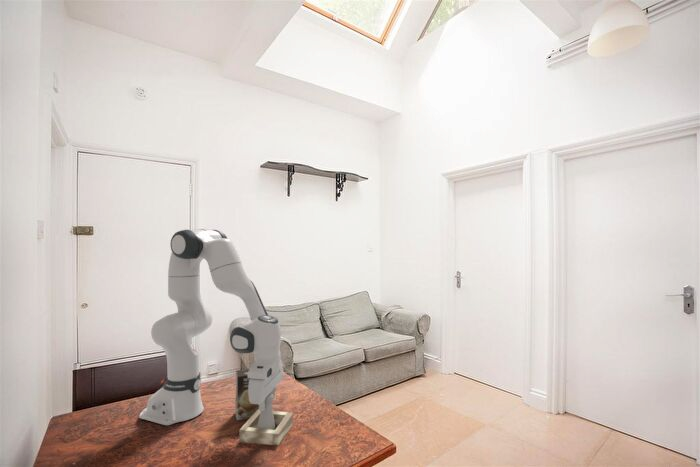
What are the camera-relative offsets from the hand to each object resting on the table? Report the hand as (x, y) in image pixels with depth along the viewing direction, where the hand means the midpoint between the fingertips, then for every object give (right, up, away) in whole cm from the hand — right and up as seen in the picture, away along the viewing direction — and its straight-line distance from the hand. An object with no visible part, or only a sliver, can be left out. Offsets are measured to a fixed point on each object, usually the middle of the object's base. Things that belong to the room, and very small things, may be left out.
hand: (267, 404), depth 118 cm
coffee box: (-10, -10, +12) cm, 18 cm away
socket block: (0, -10, 0) cm, 10 cm away
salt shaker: (0, -9, -2) cm, 9 cm away
